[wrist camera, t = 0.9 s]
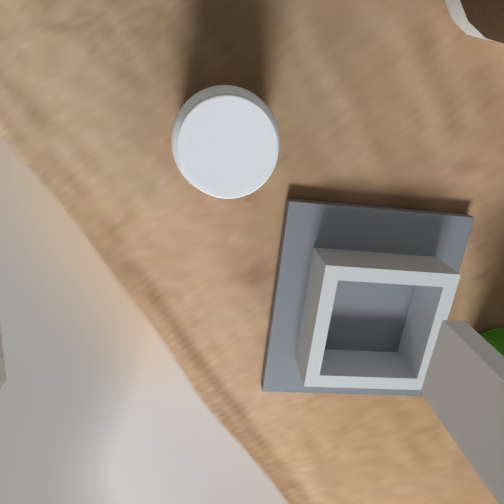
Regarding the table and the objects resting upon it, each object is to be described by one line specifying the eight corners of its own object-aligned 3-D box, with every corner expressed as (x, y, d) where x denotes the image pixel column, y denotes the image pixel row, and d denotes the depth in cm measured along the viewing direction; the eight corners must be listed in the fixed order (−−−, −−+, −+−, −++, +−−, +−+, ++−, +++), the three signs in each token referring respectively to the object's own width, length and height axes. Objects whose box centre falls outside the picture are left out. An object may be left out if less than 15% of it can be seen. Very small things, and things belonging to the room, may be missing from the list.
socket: (287, 198, 30) (299, 214, 26) (466, 214, 32) (505, 231, 28) (260, 383, 36) (268, 421, 31) (416, 388, 37) (443, 425, 33)
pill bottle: (280, 141, 29) (315, 161, 20) (216, 192, 30) (220, 235, 20) (228, 68, 27) (239, 53, 18) (161, 125, 28) (137, 138, 19)
